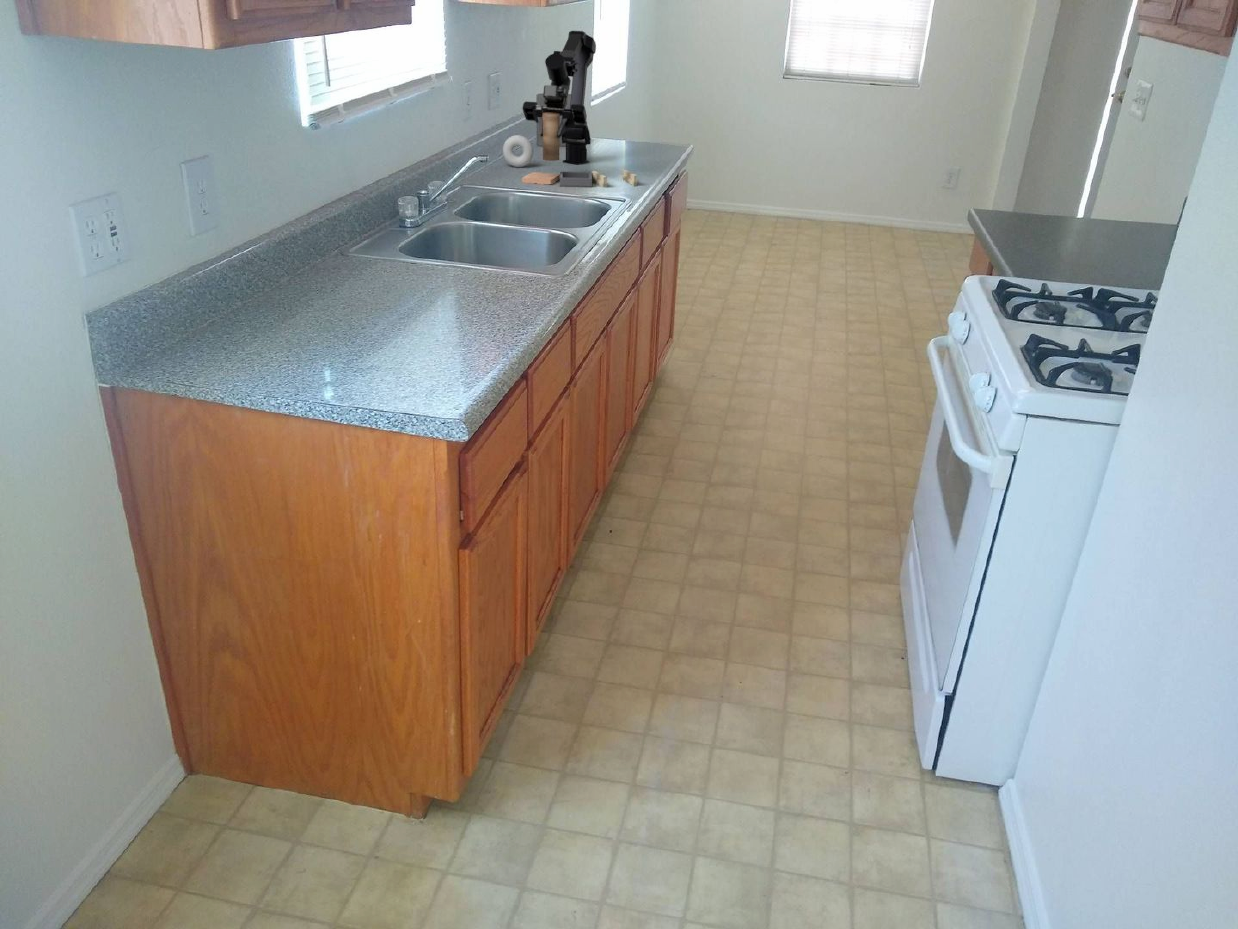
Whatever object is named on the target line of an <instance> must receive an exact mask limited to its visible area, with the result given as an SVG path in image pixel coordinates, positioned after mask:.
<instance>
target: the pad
mask: <svg viewBox="0 0 1238 929" xmlns="http://www.w3.org/2000/svg"><path fill="white" fill-rule="evenodd" d="M559 179H560V173H558V174H556V173H548V172H547V173H546V172H535V171H532V172H530V173H529V174H526V175H524V176H523V177H522V179H521V180H522V182H521V183H523V184H524V183H527V184H534V183H537V184H536V185H544V184H552V185H554V184H555V183H557V182H559V181H560V180H559ZM558 180H559V181H558ZM556 181H557V182H556Z"/></svg>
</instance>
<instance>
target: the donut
mask: <svg viewBox="0 0 1238 929" xmlns="http://www.w3.org/2000/svg"><path fill="white" fill-rule="evenodd" d="M516 147H520V148H521V149H522V154H521V155H520V156H517V155H515V153H514V148H516ZM502 154H503V157H504V160H505V161H506V162H507V163H508V165H510V166H512V167H515V168H522V167H525V166H527V165H528V164H529V163H530V162H532V159H533V157H534V146H533V145H532V142H531V141H530V140H529V139H528V138H527V137H526V136H523V135H519V134H515V135H511V136H509V137H508V138H507V139H506V140H505V142H504V143H503V146H502Z"/></svg>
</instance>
